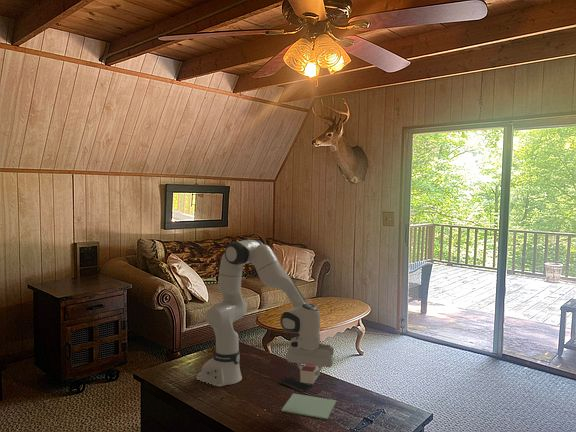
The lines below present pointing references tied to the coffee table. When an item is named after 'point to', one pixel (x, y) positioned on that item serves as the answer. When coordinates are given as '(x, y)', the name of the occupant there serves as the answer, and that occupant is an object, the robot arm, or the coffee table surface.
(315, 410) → the mat
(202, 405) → the coffee table surface
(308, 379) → the card case
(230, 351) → the robot arm
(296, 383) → the phone
